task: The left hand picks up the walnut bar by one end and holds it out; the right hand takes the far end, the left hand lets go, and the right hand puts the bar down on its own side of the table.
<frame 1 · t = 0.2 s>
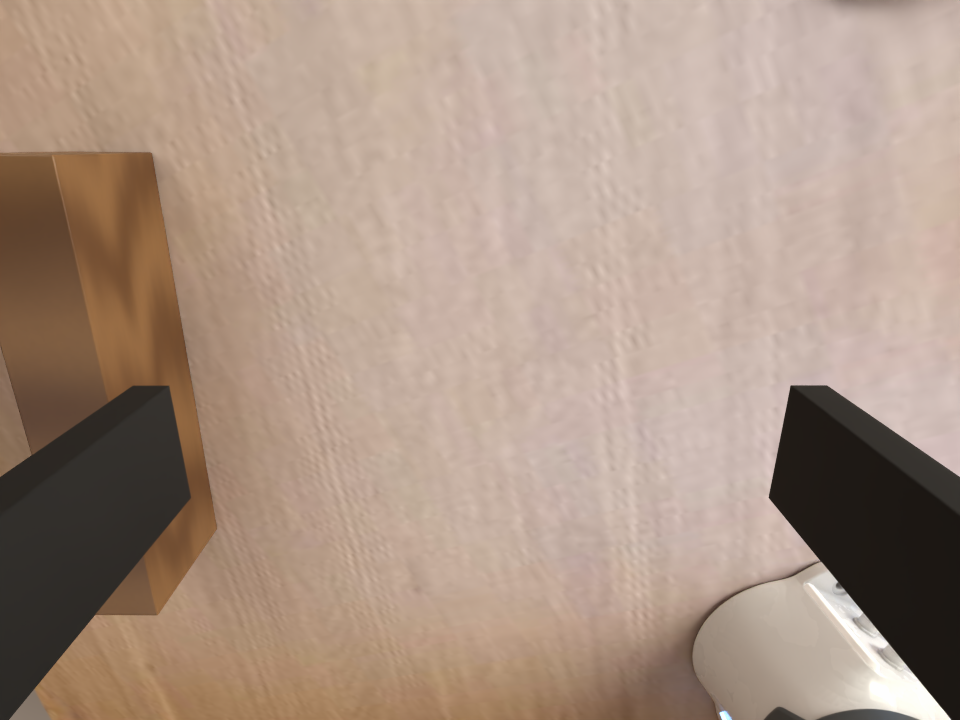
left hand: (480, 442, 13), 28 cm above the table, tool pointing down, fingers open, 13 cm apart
bar: (152, 362, 41), on the table
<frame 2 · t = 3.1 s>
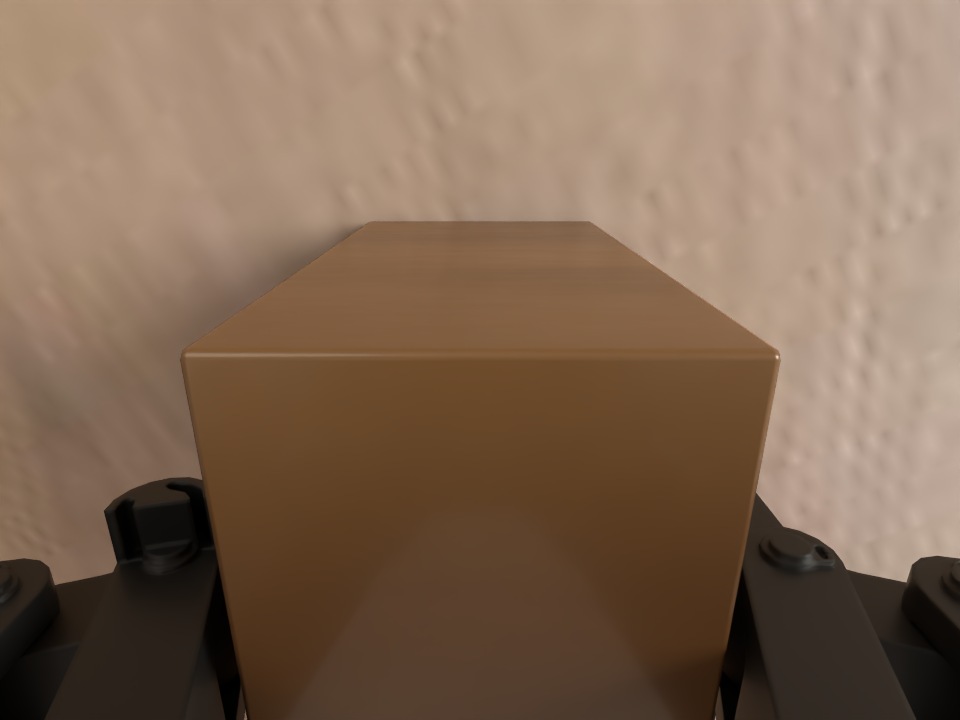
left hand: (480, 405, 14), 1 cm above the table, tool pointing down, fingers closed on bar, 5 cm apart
bar: (480, 678, 18), on the table, touching left hand
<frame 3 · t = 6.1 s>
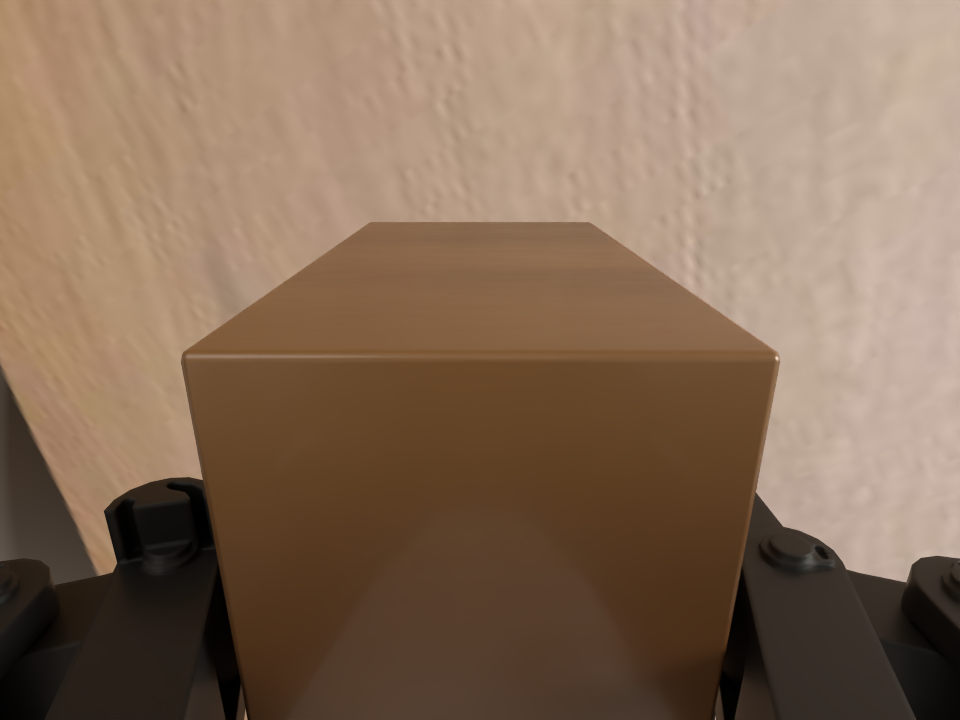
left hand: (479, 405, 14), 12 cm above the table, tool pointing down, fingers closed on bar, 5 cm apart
bar: (480, 679, 18), point 12 cm above the table, touching left hand
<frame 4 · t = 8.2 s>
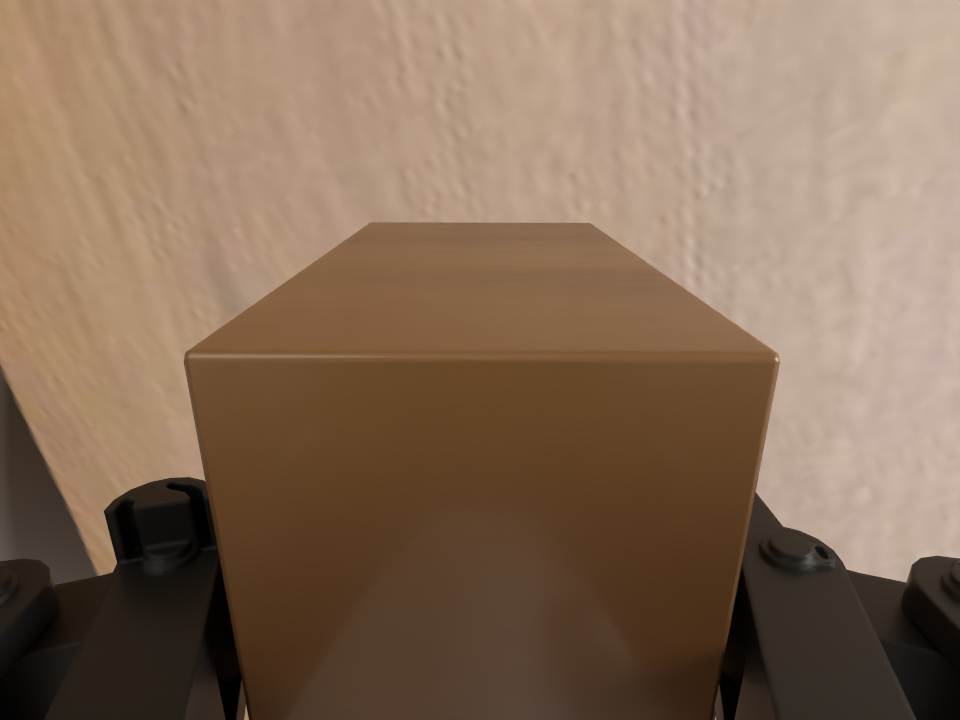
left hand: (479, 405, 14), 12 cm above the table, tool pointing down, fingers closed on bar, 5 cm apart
bar: (479, 678, 18), point 12 cm above the table, touching left hand, right hand
when the left hand's fingers open (12 cm above the table, at t = 9.1 s): bar stays where it is, held by the right hand.
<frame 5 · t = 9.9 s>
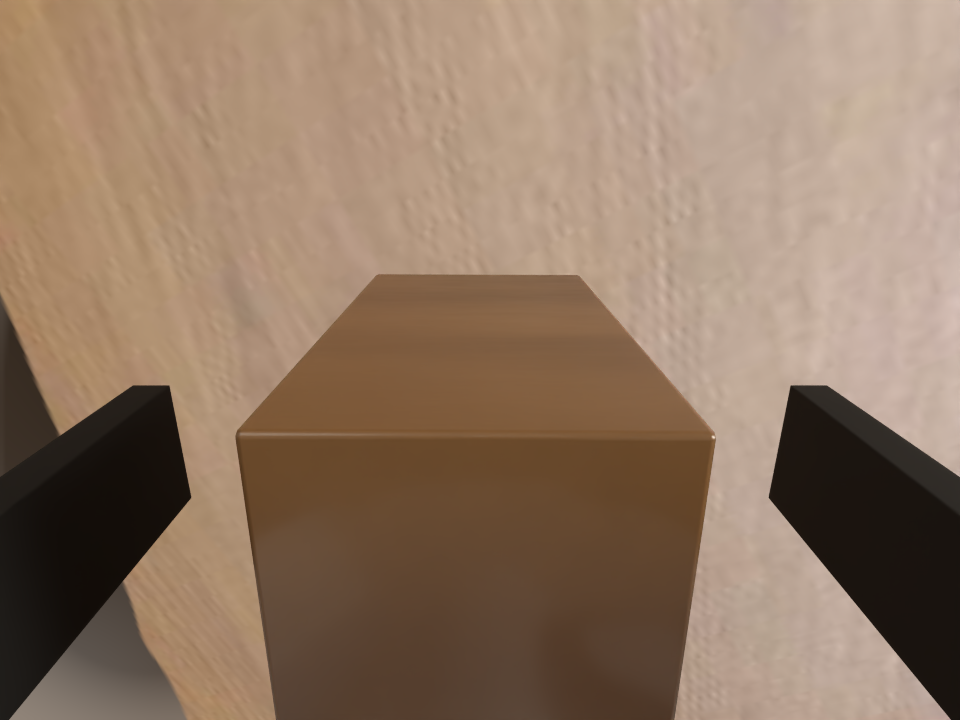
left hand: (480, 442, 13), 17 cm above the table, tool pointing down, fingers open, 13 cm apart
bar: (476, 696, 19), point 14 cm above the table, touching right hand
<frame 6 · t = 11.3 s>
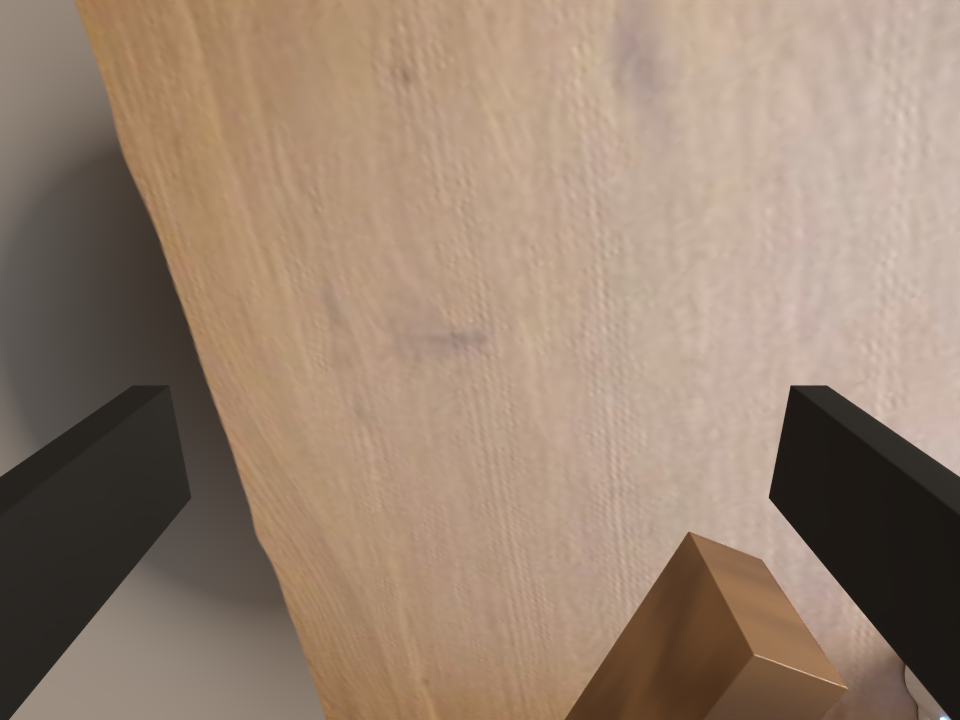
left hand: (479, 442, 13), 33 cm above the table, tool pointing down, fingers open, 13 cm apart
bar: (617, 702, 40), point 14 cm above the table, touching right hand
when the right hand's fingers open (5 cm above the table, at t = 14.3 s): bar stays where it is, on the table.
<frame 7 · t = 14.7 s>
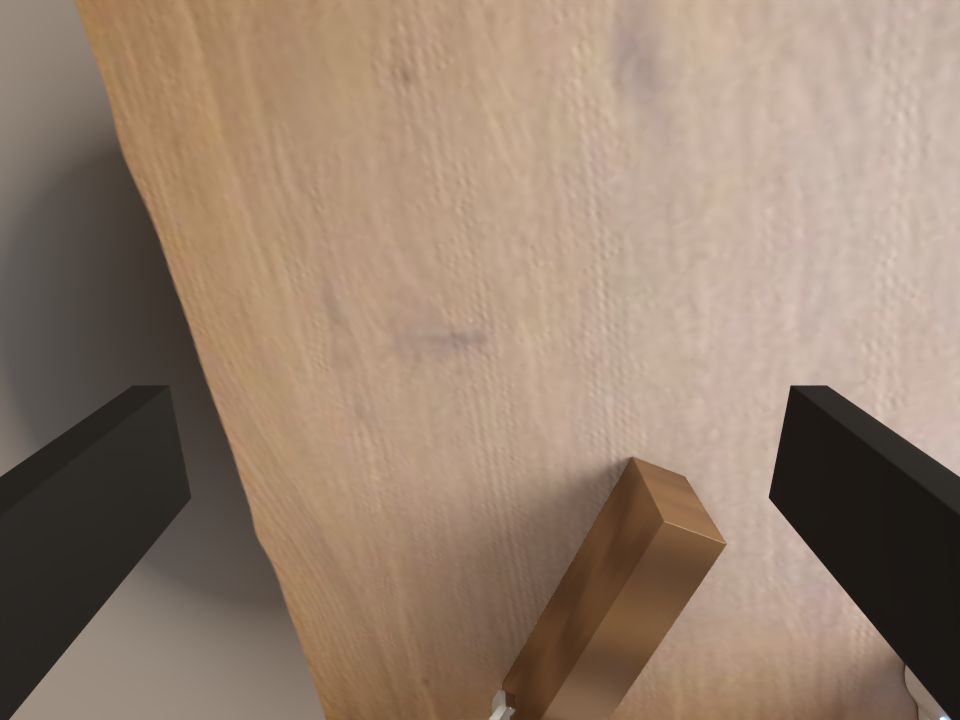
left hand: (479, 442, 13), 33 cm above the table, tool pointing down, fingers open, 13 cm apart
bar: (586, 588, 54), on the table
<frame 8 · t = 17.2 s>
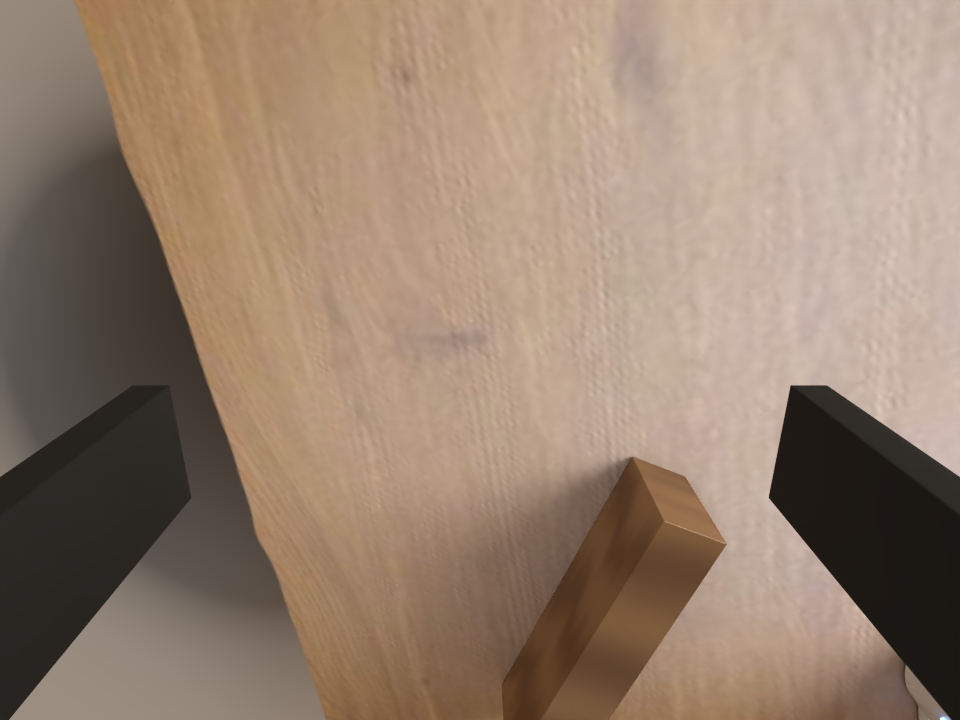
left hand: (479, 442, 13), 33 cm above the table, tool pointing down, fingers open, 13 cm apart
bar: (586, 588, 54), on the table
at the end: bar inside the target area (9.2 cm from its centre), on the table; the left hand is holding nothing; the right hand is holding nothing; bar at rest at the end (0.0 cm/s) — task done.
